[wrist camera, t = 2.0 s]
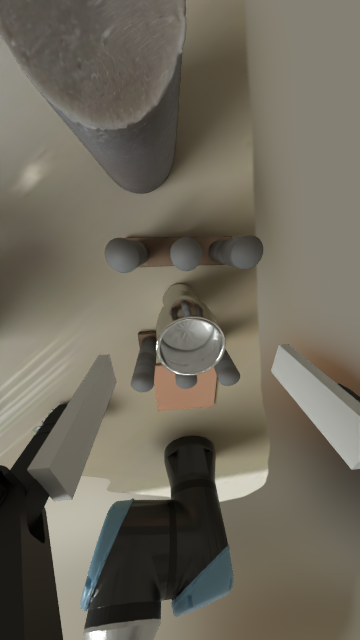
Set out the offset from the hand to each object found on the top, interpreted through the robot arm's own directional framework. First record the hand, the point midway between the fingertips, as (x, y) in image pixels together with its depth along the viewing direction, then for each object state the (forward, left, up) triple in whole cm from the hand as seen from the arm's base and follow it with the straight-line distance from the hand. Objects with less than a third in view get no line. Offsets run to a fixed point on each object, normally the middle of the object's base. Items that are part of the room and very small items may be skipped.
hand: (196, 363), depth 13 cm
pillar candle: (+20, +5, -18) cm, 27 cm away
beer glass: (0, 0, -18) cm, 18 cm away
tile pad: (-21, -1, -17) cm, 27 cm away
